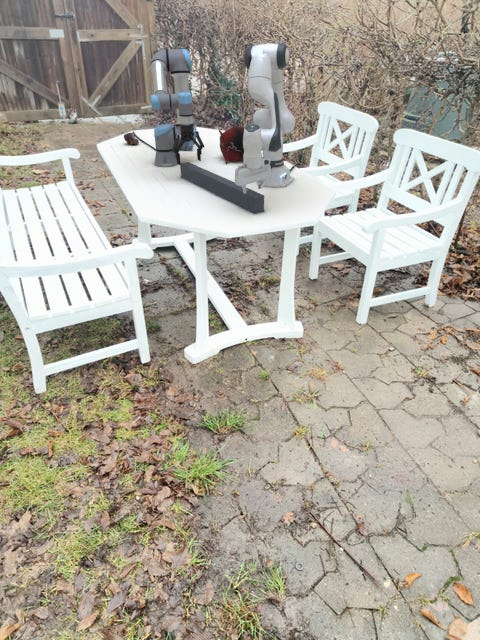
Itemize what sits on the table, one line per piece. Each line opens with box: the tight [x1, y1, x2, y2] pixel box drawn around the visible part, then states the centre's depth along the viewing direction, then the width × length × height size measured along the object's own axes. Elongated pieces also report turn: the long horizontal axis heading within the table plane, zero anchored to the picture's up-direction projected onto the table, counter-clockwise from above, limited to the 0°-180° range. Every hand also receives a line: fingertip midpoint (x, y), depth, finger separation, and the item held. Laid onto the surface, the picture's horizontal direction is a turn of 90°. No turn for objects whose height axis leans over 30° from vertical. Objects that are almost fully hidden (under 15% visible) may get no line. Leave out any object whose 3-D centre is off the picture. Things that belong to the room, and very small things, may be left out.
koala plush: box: [172, 120, 194, 151], centre depth 322 cm, size 17×18×20 cm
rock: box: [123, 132, 140, 145], centre depth 336 cm, size 12×9×10 cm
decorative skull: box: [218, 126, 245, 165], centre depth 296 cm, size 21×24×25 cm
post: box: [179, 161, 265, 215], centre depth 244 cm, size 74×6×8 cm, turn 36°
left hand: (189, 162), depth 262 cm, fingers open, 13 cm apart
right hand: (253, 190), depth 221 cm, fingers open, 8 cm apart
